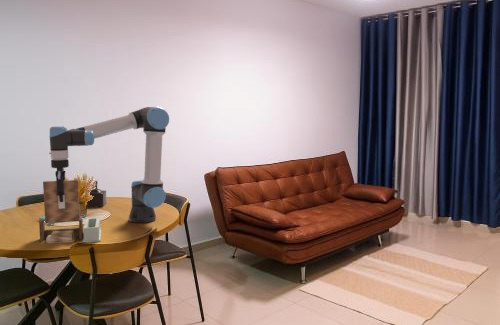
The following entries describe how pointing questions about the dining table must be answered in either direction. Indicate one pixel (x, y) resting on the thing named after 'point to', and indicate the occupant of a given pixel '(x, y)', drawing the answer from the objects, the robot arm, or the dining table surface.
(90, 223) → the holder
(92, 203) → the black bag
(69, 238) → the offcut stack
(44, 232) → the rack
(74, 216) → the sheet
